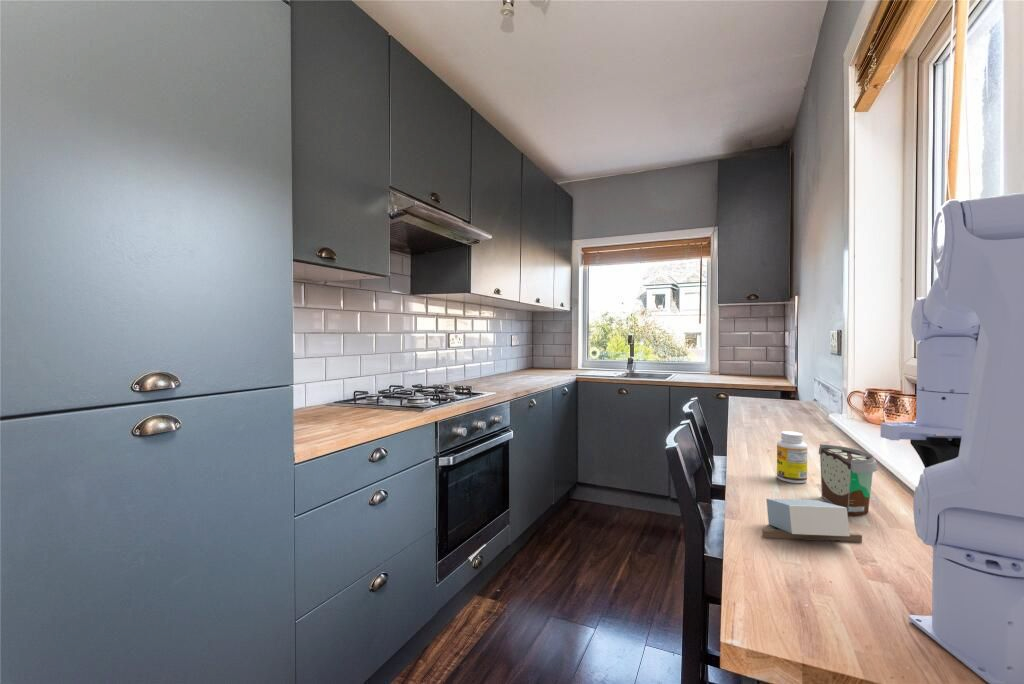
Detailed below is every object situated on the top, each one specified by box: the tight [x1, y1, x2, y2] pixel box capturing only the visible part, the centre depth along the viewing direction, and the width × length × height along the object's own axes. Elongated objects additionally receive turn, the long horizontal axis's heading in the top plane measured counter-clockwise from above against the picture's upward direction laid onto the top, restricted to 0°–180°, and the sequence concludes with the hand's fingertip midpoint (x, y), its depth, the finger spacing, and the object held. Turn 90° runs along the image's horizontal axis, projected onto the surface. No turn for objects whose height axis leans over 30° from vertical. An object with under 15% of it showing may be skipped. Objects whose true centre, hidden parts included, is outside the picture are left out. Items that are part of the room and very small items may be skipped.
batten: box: [761, 528, 863, 543], centre depth 68 cm, size 1×14×1 cm, turn 85°
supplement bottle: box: [776, 430, 808, 484], centre depth 96 cm, size 6×6×10 cm
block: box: [766, 498, 851, 536], centre depth 70 cm, size 4×8×8 cm
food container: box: [818, 443, 879, 517], centre depth 81 cm, size 12×6×10 cm, turn 168°
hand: (945, 496), depth 57 cm, fingers closed
